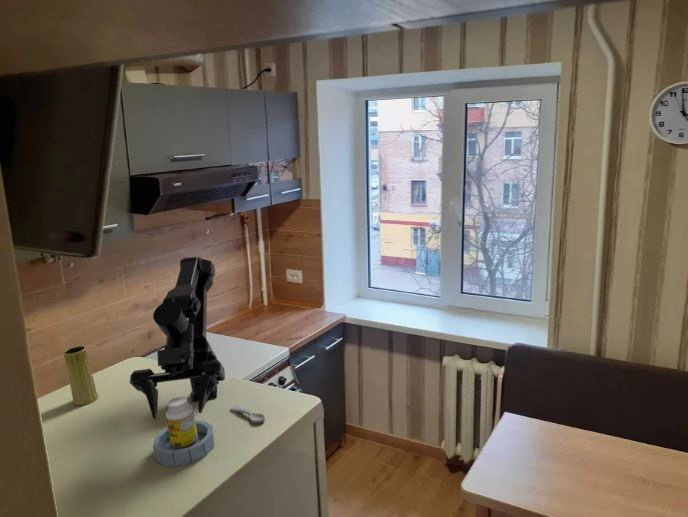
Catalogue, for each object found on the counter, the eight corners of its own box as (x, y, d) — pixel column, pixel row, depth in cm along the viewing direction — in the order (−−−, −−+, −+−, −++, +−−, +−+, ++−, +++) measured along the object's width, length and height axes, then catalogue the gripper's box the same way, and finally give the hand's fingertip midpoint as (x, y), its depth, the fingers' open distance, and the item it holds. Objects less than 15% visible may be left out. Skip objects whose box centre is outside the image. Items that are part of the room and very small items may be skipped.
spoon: (258, 427, 117) (256, 419, 116) (228, 415, 125) (226, 407, 125) (268, 421, 119) (267, 413, 118) (238, 410, 127) (237, 402, 127)
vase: (103, 394, 140) (92, 344, 137) (88, 406, 134) (77, 354, 131) (83, 394, 141) (71, 345, 138) (67, 405, 136) (55, 355, 132)
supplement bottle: (167, 445, 111) (159, 401, 109) (192, 434, 115) (184, 391, 112) (177, 455, 107) (168, 410, 105) (203, 444, 110) (195, 400, 108)
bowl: (159, 439, 115) (157, 427, 115) (215, 428, 118) (212, 416, 117) (152, 471, 104) (149, 458, 103) (213, 458, 106) (211, 445, 106)
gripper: (123, 335, 108) (116, 410, 100) (214, 324, 110) (214, 397, 101) (141, 355, 118) (136, 425, 109) (224, 345, 119) (225, 413, 111)
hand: (177, 415), depth 107 cm, fingers open, 9 cm apart
